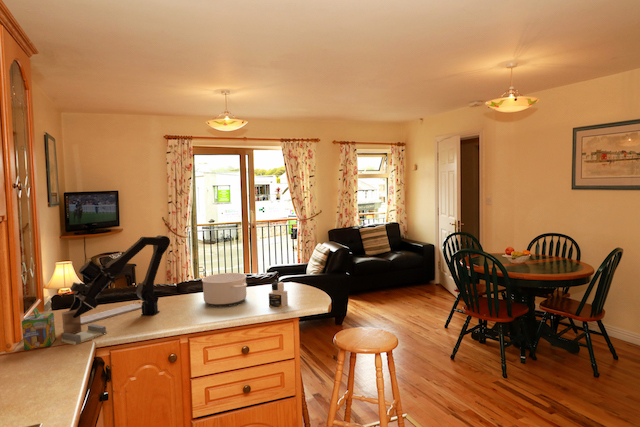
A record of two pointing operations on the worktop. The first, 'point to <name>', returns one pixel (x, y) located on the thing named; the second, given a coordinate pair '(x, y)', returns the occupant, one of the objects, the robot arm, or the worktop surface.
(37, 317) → the chalk box
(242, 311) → the worktop surface
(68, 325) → the brown block
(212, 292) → the pot
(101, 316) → the baseboard
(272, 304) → the medicine bottle
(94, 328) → the holder
